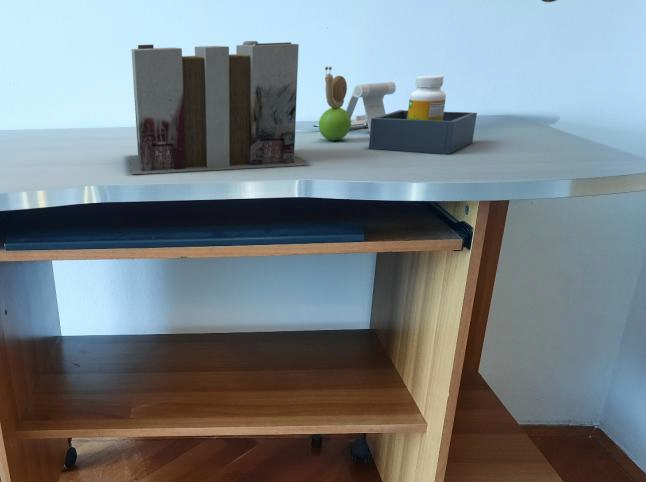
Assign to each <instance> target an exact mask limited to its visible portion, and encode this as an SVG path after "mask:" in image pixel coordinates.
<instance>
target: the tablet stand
mask: <svg viewBox="0 0 646 482" xmlns="http://www.w3.org/2000/svg"><path fill="white" fill-rule="evenodd" d="M396 90H397V85H396V83H395V82H393V81H387V82H375V83H374V82H373V83H364V84H363V83H362V84H356V85H354V87H353V90H352V93H351V95H350V98H349V101H348V103H347V106H346V108H345V109H344V110H345V111H346V112H347V113H348V114H349V116H350V118H351V119H352V116H353V114H354V111H355V109H356V106H357V104H358V101H359V99H360V98H362V103H363V107H364V112H365V114H362V115H356V116H355V117H354V120H351V127H350V130H355V129H366V128H368V132H369V133H370V128H371V119H372V118H375V117H378V116H382V115H385V114H386V110H385V104H384V98H385V96H387V95H389V96H390V95H393V94H394V93H395V92H396Z"/></svg>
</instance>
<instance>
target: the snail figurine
mask: <svg viewBox="0 0 646 482" xmlns="http://www.w3.org/2000/svg"><path fill="white" fill-rule="evenodd" d="M332 69H333V67H332V66H325V67H324V70H325V72H327V71H328V70H329V71H332ZM324 81H325V88H324V89H325V99H326V102H327V103H326V104H327V105H328V106H329V107H330V108H328V109H327V110H325V111H323V113H322V114H321V116H320V118H319V120H318V130H319V133H320V134H321V136H322V137H323V138H324V139H326V140H328V141H331V142H332V141H333V142H337V141H340V140H342V139H344V138H345V137H346V136H347V135H348V133H349V132H350V130H351V129H350V127H351V121H352V117H351V118H350V116H349V114H348V113H347V112H346V111H345V110H346V109H344V108H341V107H343V105H344V103H345V98H346V96H347V92H348V85H347V80H346V78H345V77H344V76H342V75H336V76H335V77H334V76H333V74H332V73H326V74H325V77H324Z"/></svg>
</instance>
